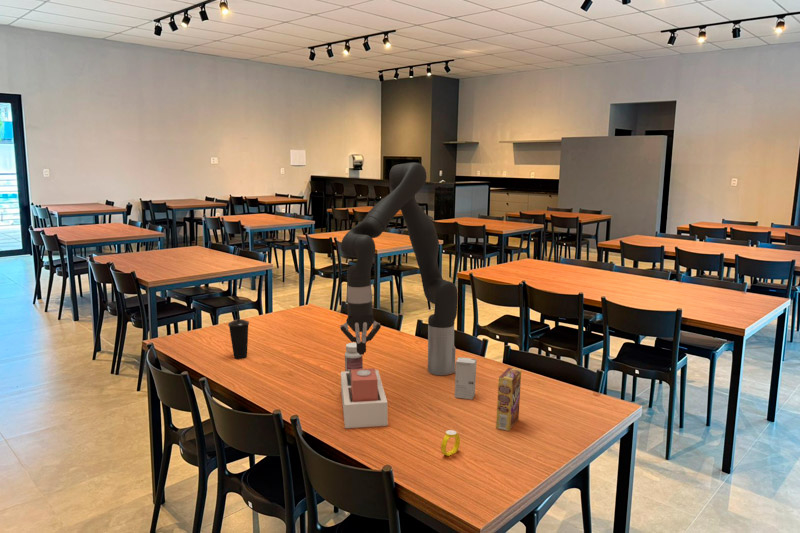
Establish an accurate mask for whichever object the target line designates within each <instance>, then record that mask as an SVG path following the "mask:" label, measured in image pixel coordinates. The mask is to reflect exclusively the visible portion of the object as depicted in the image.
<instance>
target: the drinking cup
mask: <svg viewBox="0 0 800 533" xmlns="http://www.w3.org/2000/svg"><path fill="white" fill-rule="evenodd" d="M239 307H240V306H236V313H237V314H236V317H237V319H233V320H231V321H229V322H228V324H227V325H228V327H229V334H230V342H231V346H232V347H231V348H232V354H233V359H235V360H242V359H243V360H244V359H246V358H248V341H249V340H248V338H249V324H250V322H249V321H248V320H245V319H241V318H240V308H239Z"/></svg>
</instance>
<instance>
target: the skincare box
mask: <svg viewBox="0 0 800 533" xmlns="http://www.w3.org/2000/svg"><path fill="white" fill-rule="evenodd" d="M454 375H455V379H454V380H455V381H454V398H458V399H466V400H473V399H474V398H475V395H476V381H477V380H476V377H477V358H470V357H458V358H457V359H456V360H455V373H454Z"/></svg>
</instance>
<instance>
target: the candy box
mask: <svg viewBox="0 0 800 533" xmlns="http://www.w3.org/2000/svg"><path fill="white" fill-rule="evenodd" d="M521 380H522V369H520V368H514V367H507V369H506V370H505V371H504V372H502V373H501V375H500V376H498V386H497V388H498V389H497V401H496V404H497V405H496V421H495V422H496V423H495V424H496V425H495V428H496V429H499V430H503V431H506V432H510V431H511V429H512V428H513V426H515V424H516V423H517V422H518V420H519V419H520V418H519V417H520V403H521V402H520V401H521V400H520V399H521V385H522V384H521V383H522V381H521Z"/></svg>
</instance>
